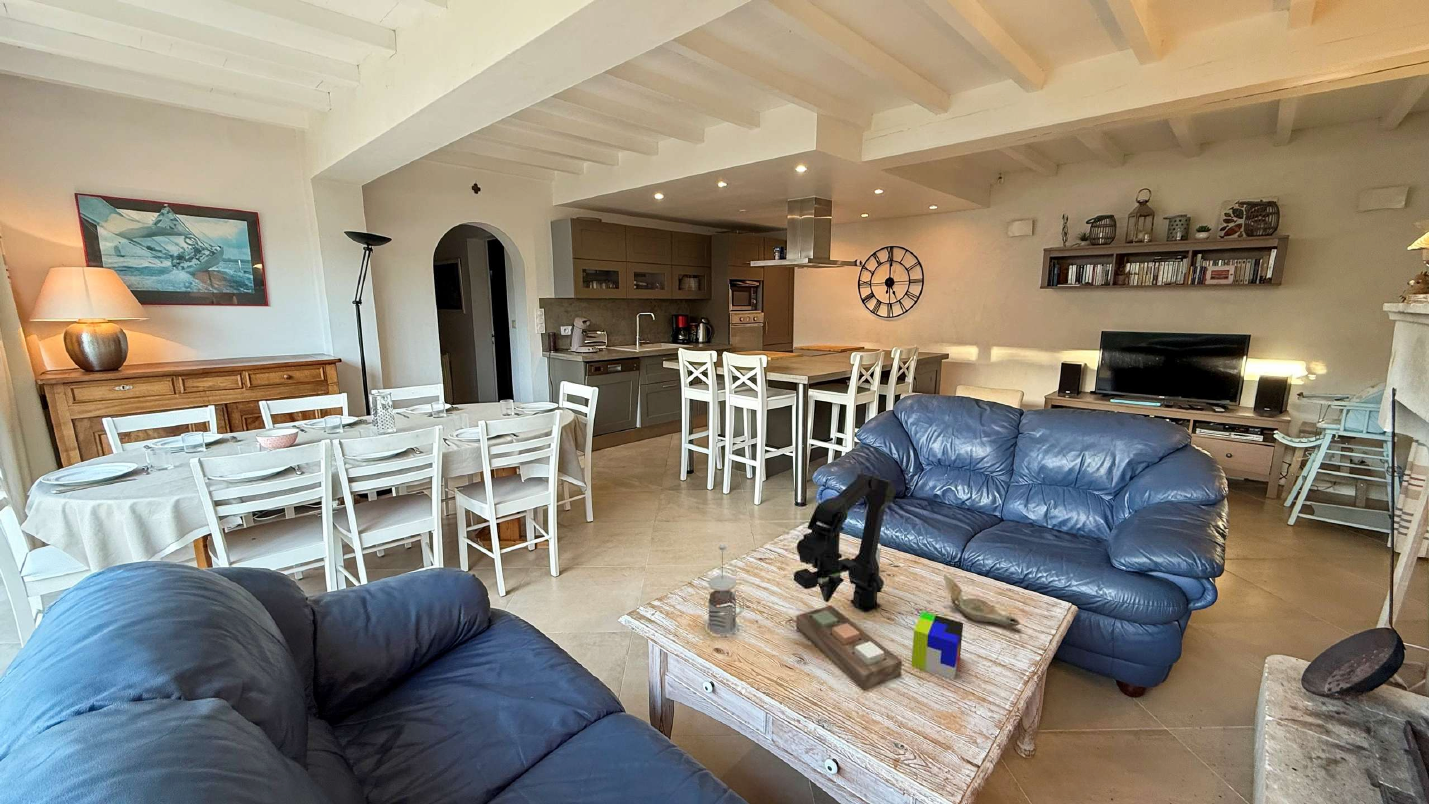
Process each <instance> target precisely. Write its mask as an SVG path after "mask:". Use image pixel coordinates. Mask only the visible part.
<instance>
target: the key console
mask: <svg viewBox="0 0 1429 804" xmlns="http://www.w3.org/2000/svg"><path fill="white" fill-rule="evenodd" d="M826 610H827V611H828V612H829V613H830V614H832V615H833V616H834V617H835V618H837V619H838V623H836V624H832V625H829V626H826V627H823V628H822V627H821V626H820V625H819V624H818V623H817V622H815V621H814V620H813V619H812V615H813V614H816V613H820V612H823V611H826ZM795 621H796V622H795V629H796V630H797V631H798V632H800V634H801V635H802V636H804V637H805V638H806V639H807V640H808V641H809V642H811V644H812V645H813V646H814V647H816V649H818V650H819V652H821V653H822V654H823V655H824V656H825V657H826V658H827V659H829V660H830V661H831V663H833V664H834V665H835V666H836V667H837V668H838V669H840V670H841V671H842V672H843V673H844V674H845V675H846V676H848V678H849V679H851V680H852V681H853V683H854V684H856V685H857V686H858V687H859V688H860V689H861V690H862V691H864V690H867V689H869V688H872V687H874V686H877V685H880V684H882V683H885V682H887V681H890V680H893V679H895V678H897V677H900V676H902V667H903V664H902V663H903V661H902V659H900V658H899V657H898V656H896V655H895V654H894V653H893V652H891V651H890V650H889V649H887V648H886V646H884V645H882V644H881V643H880V642H879V641H877V640H876V639H874V637H872V636H871V635H870V634H869V633H867V632H865V630H863V629H862V628H861V627H859V626H858V625H856V623H854V622H853V621H852V620H850V619H849V618H848V617H847V616H845V615H844V614H843V613H841V612H840V611H839V609H836V608H835V607H834V606H832V605H827V606H824V607H821V608H817V609H814V610H810V611H807V612H803V613H801V614H797V615H796V620H795ZM846 623H848V624H849V625H850V626H852V627H853V628H854V629H855V630H857V631H858V632H859V633H860V639H859V641H857V642H854V643H851V644H848V645H845V646H843V645H842V644H841V643H840V642H839V641H838V640H836V639H835V638H834V637H833V636H832V628H834V627H837V626H840V625H843V624H846ZM870 641H871V642H872V643H873V644H874V645H876V646H877V647H878V648H879V649H881V650H882V651H883V652H884V661H881V662H879V663H876V664H873V665H871V666H867V665H866V664H865V663H863V662H862V661H861V660H860V659H859V658H857V657H856V656H855V655H854V654H855V646H858V645H861V644H864V643H867V642H870Z"/></svg>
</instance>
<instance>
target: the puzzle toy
mask: <svg viewBox="0 0 1429 804" xmlns="http://www.w3.org/2000/svg"><path fill="white" fill-rule="evenodd" d="M963 628H964V622H962V621H958V620H954V619H951V618H947V617H943V616H940V615H936V614H933V613H930V612H926V611H922V612H921V613H920V616H919V618H918V620H917V622H916V625H915V627H914V630H913V640H912V652H911V654H912V655H911V666H912V667H914V668H918V669H919V670H924V671H925V672H926V671H927V672H929V673H932V674H936V675H938V676H941V677H945V678H947V679H950V680H952V681H953V680H955V677H956V672H957V670H958V666H959V662H960V660H961V655H962V654H961V652H962V650H961V649H962V643H963V641H962V640H963Z"/></svg>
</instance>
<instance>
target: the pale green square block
mask: <svg viewBox="0 0 1429 804" xmlns="http://www.w3.org/2000/svg"><path fill="white" fill-rule="evenodd" d="M812 619H813V620H814V621H815V622H817V623H818V624H819V625H820V626H821V627H822V628H823V627H826V626H829V625H832V624H836V623H838V619H837V618H835V617H834V616H833V615H832V614H830V613H829V612H828V611H827V610H826V611H823V612H820V613H816V614H813V615H812Z"/></svg>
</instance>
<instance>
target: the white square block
mask: <svg viewBox="0 0 1429 804" xmlns="http://www.w3.org/2000/svg"><path fill="white" fill-rule="evenodd" d="M854 655H855V656H856V657H857V658H859V659H860V660H861V661H862V662H863V663H865V664H866V665H867V666H871V665H873V664H876V663H879V662H881V661H884V652H883V651H882V650H881V649H879V648H878V647H877V646H876V645H874V644H873V643H872V642H871V641H870V642H867V643H864V644H861V645H858V646H855V654H854Z"/></svg>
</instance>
